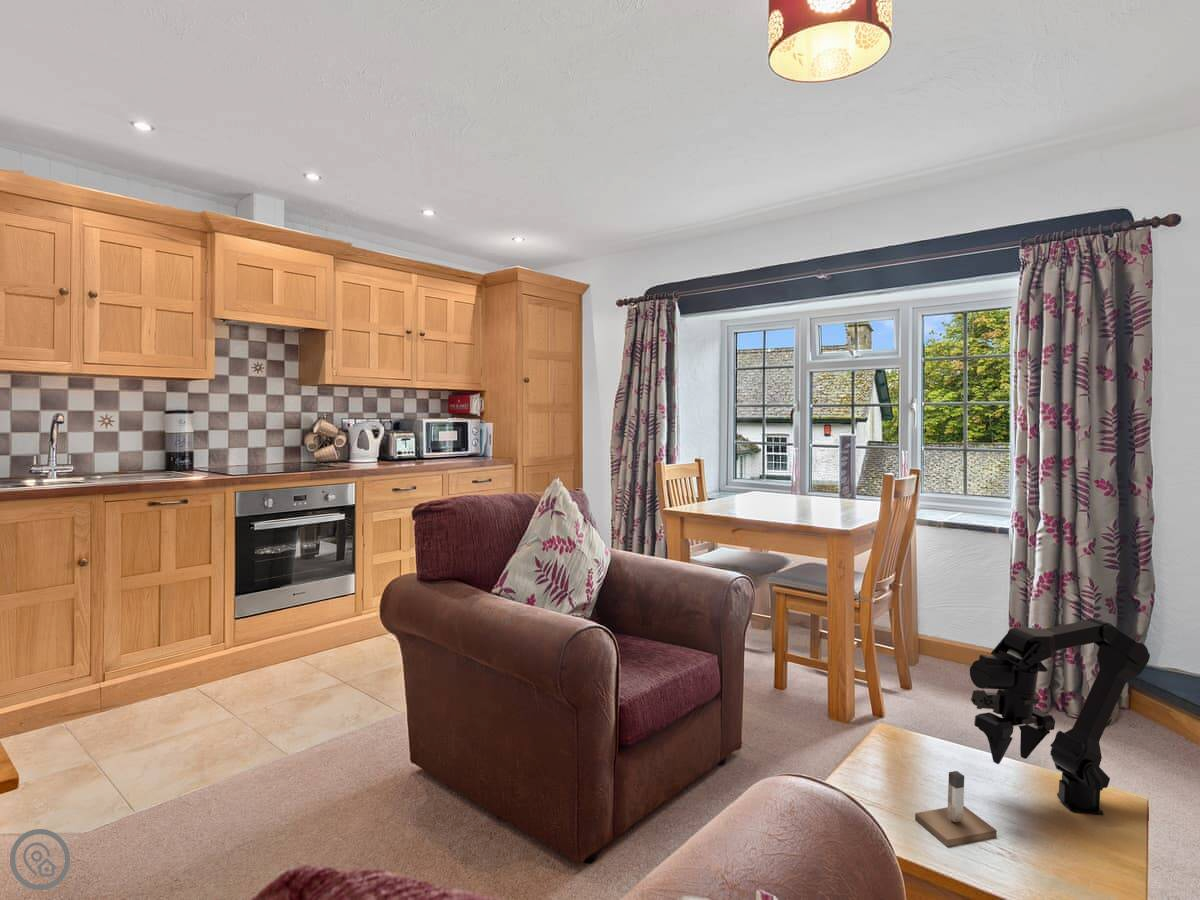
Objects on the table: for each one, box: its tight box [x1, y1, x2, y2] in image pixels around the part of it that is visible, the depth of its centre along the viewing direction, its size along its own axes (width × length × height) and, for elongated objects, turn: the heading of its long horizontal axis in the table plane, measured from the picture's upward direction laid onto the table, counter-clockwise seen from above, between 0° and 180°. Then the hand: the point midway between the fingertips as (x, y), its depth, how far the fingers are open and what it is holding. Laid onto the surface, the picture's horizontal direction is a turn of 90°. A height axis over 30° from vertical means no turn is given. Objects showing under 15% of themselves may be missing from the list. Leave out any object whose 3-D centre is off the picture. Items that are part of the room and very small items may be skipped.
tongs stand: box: [914, 770, 998, 848], centre depth 138 cm, size 12×9×12 cm
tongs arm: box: [951, 772, 965, 822], centre depth 137 cm, size 2×1×10 cm, turn 105°
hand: (1009, 760), depth 142 cm, fingers open, 9 cm apart
